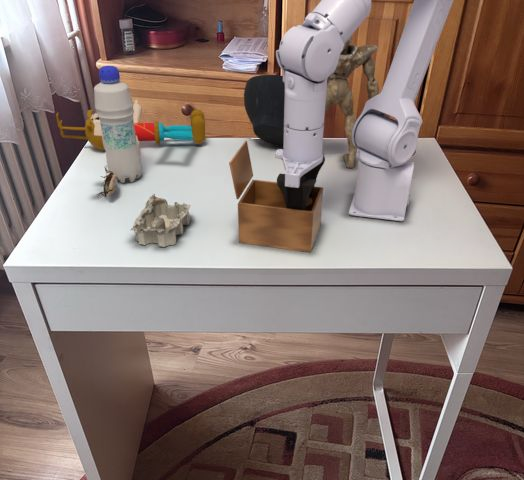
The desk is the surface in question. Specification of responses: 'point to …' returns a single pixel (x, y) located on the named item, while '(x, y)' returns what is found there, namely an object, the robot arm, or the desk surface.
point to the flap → (241, 169)
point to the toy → (142, 129)
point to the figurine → (340, 87)
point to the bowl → (266, 107)
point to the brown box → (277, 218)
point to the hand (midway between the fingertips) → (299, 210)
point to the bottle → (117, 124)
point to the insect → (109, 183)
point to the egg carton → (161, 222)
